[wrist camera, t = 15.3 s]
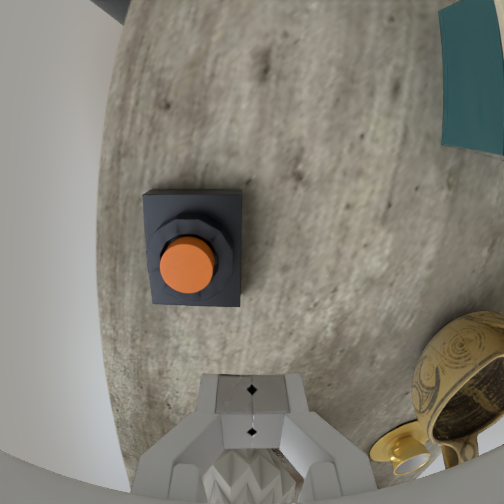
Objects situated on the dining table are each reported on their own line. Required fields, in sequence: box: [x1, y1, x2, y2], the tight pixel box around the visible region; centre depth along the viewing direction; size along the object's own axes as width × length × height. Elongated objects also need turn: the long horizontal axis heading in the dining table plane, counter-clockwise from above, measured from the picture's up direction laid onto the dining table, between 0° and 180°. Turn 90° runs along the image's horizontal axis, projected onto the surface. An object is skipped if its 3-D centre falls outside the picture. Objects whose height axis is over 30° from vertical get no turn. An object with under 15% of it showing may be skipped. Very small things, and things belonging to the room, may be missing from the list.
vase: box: [202, 448, 296, 504], centre depth 30 cm, size 16×16×18 cm
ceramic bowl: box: [412, 311, 504, 469], centre depth 26 cm, size 22×17×15 cm
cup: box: [370, 421, 430, 475], centre depth 38 cm, size 12×12×5 cm
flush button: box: [160, 236, 215, 293], centre depth 24 cm, size 4×4×2 cm
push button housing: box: [142, 189, 242, 307], centre depth 26 cm, size 10×8×4 cm
